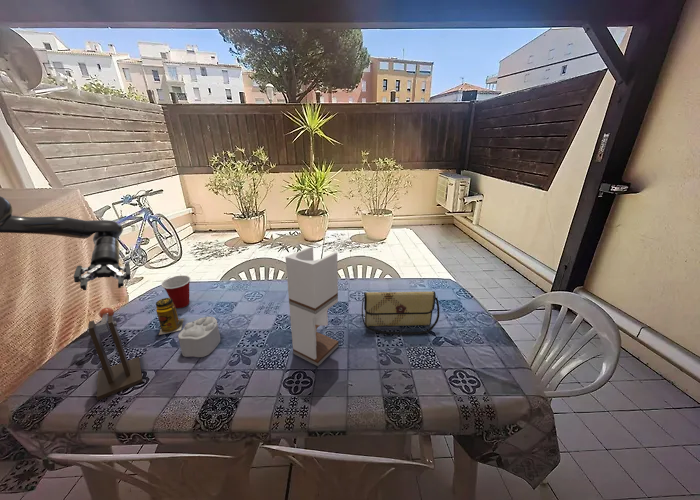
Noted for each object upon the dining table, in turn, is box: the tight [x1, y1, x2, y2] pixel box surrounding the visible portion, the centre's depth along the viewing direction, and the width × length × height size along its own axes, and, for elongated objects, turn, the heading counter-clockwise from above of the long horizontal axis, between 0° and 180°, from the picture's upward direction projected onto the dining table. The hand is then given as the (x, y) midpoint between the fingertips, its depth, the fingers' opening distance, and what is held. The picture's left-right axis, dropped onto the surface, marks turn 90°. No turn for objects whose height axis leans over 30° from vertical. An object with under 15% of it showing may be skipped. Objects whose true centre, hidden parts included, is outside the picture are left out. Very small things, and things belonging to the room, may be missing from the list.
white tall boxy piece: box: [284, 246, 339, 367], centre depth 87 cm, size 11×11×35 cm
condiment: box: [155, 297, 185, 336], centre depth 103 cm, size 7×8×12 cm
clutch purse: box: [360, 290, 440, 335], centre depth 102 cm, size 30×7×15 cm, turn 92°
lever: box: [95, 307, 115, 335], centre depth 81 cm, size 19×4×4 cm, turn 40°
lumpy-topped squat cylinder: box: [177, 316, 221, 358], centre depth 94 cm, size 10×13×9 cm
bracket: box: [86, 314, 144, 401], centre depth 78 cm, size 12×10×20 cm
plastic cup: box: [160, 275, 191, 309], centre depth 118 cm, size 11×11×12 cm
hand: (102, 287), depth 89 cm, fingers open, 8 cm apart
